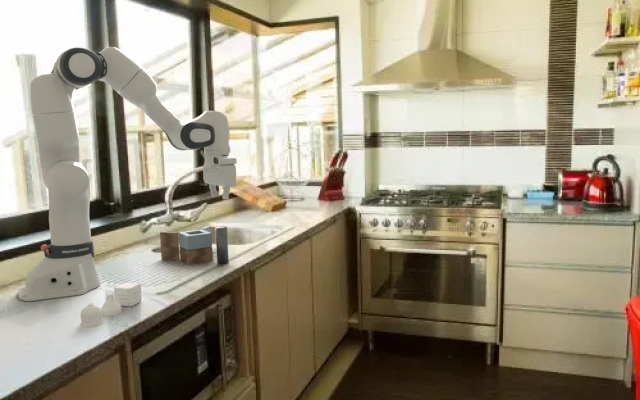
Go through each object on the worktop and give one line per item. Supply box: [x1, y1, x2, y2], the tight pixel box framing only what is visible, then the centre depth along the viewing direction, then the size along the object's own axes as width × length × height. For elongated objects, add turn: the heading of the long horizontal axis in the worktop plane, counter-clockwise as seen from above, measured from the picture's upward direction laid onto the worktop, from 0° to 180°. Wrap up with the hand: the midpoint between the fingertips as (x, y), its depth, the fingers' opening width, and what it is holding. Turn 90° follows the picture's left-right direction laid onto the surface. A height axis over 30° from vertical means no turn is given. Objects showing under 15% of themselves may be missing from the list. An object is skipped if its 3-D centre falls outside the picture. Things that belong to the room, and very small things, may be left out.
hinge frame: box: [159, 231, 214, 266], centre depth 190 cm, size 14×14×10 cm
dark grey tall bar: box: [215, 225, 230, 265], centre depth 184 cm, size 4×4×13 cm
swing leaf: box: [178, 225, 213, 250], centre depth 193 cm, size 14×14×10 cm
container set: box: [80, 282, 143, 328], centre depth 136 cm, size 20×5×6 cm, turn 165°
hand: (219, 197), depth 182 cm, fingers open, 8 cm apart
